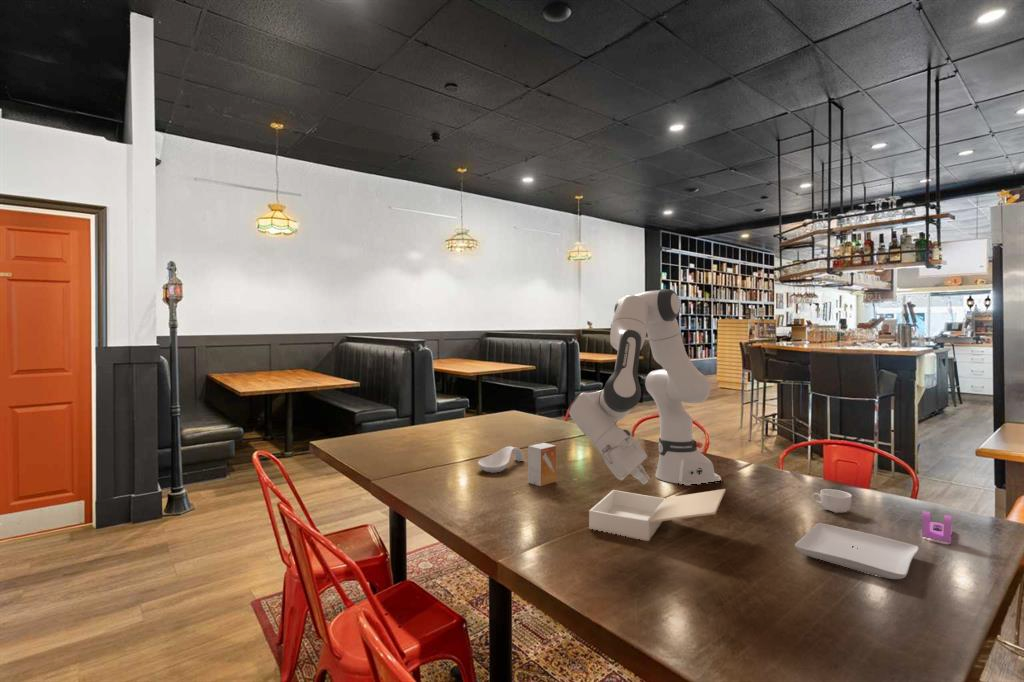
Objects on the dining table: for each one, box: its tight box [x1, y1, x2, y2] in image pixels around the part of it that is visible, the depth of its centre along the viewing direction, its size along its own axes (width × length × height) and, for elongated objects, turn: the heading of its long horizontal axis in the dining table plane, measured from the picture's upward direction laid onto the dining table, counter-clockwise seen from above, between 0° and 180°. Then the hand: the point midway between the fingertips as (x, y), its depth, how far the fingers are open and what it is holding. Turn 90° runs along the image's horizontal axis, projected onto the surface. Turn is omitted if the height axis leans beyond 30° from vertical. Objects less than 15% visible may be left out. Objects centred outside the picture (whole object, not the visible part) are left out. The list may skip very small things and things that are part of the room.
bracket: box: [921, 510, 953, 544], centre depth 131 cm, size 13×6×7 cm, turn 137°
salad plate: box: [794, 522, 920, 580], centre depth 118 cm, size 21×21×3 cm
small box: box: [527, 442, 557, 487], centre depth 176 cm, size 8×6×13 cm
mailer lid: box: [650, 488, 726, 522], centre depth 131 cm, size 16×20×1 cm
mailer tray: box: [588, 489, 667, 542], centre depth 139 cm, size 16×20×5 cm
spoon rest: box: [477, 445, 525, 474], centre depth 195 cm, size 24×12×7 cm, turn 146°
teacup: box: [811, 488, 853, 513], centre depth 149 cm, size 10×8×5 cm
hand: (647, 481), depth 137 cm, fingers closed
